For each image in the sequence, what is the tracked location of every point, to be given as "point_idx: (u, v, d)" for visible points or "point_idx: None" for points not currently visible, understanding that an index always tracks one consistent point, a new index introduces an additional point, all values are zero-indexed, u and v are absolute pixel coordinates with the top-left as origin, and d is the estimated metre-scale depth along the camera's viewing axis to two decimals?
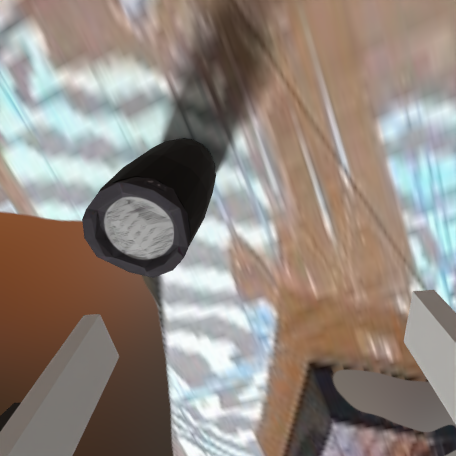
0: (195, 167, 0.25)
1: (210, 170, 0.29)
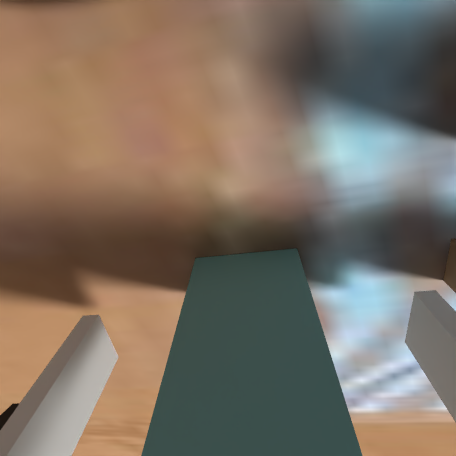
0: None
1: None
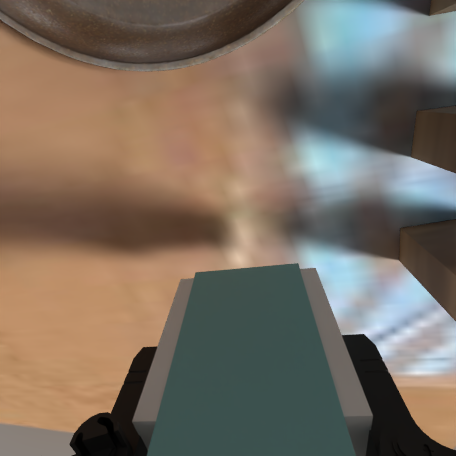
0: None
1: None
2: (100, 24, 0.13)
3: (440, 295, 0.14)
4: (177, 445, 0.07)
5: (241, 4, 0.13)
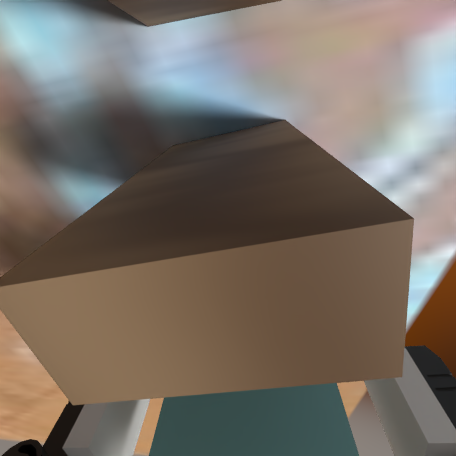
0: None
1: None
2: None
3: None
4: None
5: None
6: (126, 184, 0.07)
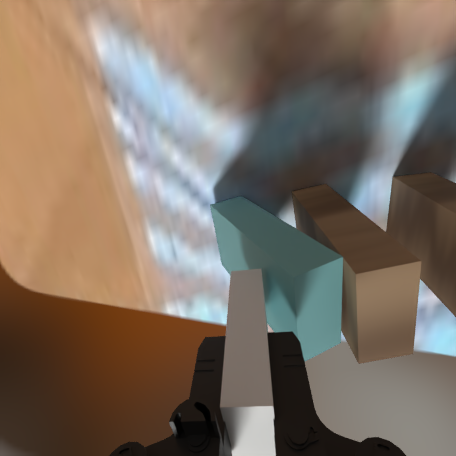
0: None
1: None
2: None
3: (319, 212, 0.15)
4: None
5: None
6: None
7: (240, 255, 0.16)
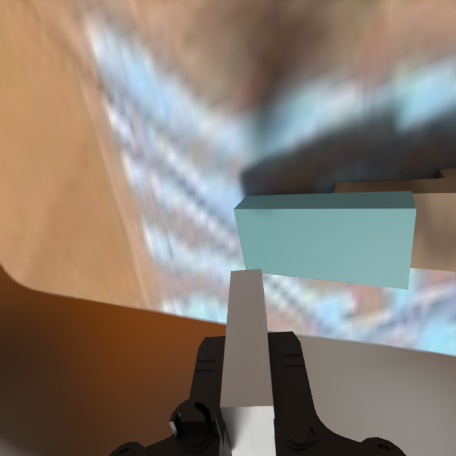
0: None
1: None
2: None
3: (412, 190, 0.16)
4: None
5: None
6: None
7: (303, 236, 0.17)
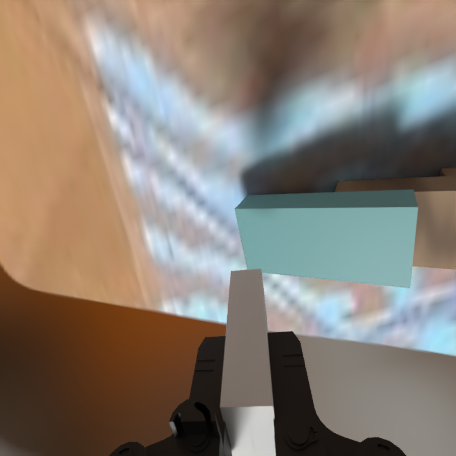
0: None
1: None
2: None
3: (414, 188, 0.16)
4: None
5: None
6: None
7: (305, 236, 0.17)
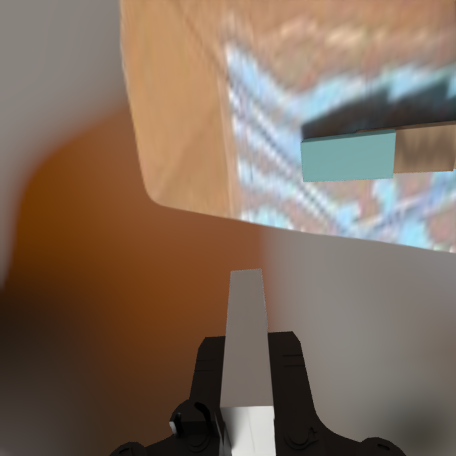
0: None
1: None
2: None
3: (396, 129, 0.32)
4: None
5: None
6: None
7: (339, 155, 0.33)
